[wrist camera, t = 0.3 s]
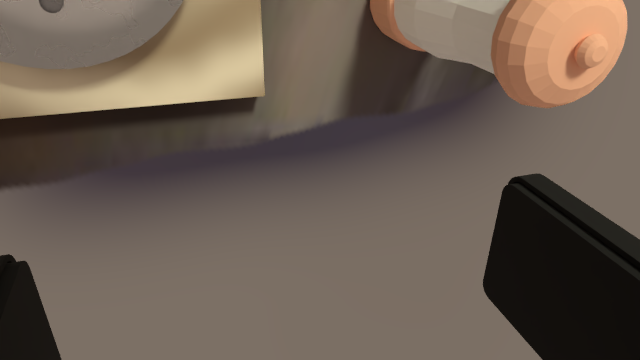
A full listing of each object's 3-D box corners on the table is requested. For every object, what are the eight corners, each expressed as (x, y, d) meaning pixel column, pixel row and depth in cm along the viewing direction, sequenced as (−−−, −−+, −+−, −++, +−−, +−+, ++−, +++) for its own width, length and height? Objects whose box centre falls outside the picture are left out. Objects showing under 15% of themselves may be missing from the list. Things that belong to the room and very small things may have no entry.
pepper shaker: (377, 53, 40) (530, 147, 24) (361, -41, 36) (530, -4, 20) (456, 26, 41) (654, 100, 25) (449, -68, 37) (677, -53, 21)
